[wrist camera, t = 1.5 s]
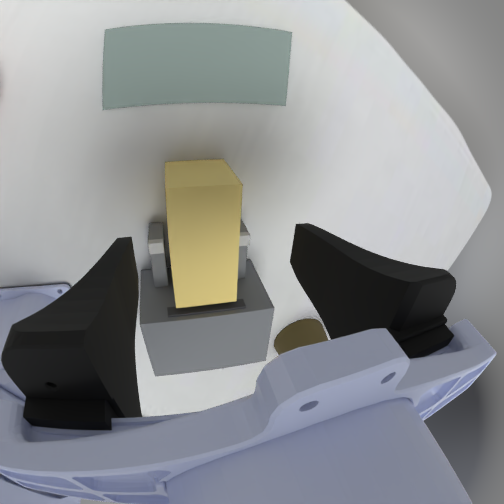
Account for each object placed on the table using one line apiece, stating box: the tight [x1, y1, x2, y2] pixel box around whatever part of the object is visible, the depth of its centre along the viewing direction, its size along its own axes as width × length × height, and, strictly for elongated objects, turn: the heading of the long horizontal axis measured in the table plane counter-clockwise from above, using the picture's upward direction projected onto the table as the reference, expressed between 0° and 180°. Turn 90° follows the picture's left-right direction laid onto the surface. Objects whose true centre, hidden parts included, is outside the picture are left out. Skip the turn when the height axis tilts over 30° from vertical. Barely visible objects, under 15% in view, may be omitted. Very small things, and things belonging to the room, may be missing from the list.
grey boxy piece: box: [140, 219, 274, 376], centre depth 22 cm, size 9×10×6 cm
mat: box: [102, 23, 292, 110], centre depth 15 cm, size 12×6×1 cm, turn 85°
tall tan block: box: [165, 159, 243, 308], centre depth 19 cm, size 4×8×6 cm, turn 175°
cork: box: [274, 319, 328, 355], centre depth 28 cm, size 6×6×11 cm
